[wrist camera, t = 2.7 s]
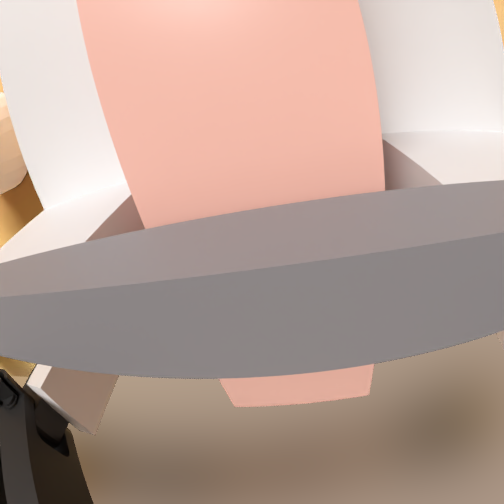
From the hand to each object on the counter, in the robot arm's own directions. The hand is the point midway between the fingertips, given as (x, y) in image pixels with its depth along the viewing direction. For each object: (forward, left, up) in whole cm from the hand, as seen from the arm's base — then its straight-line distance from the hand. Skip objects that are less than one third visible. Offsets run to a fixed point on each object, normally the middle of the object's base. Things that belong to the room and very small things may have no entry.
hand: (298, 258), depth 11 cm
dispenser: (0, +9, -6) cm, 11 cm away
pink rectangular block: (0, +5, -1) cm, 5 cm away
